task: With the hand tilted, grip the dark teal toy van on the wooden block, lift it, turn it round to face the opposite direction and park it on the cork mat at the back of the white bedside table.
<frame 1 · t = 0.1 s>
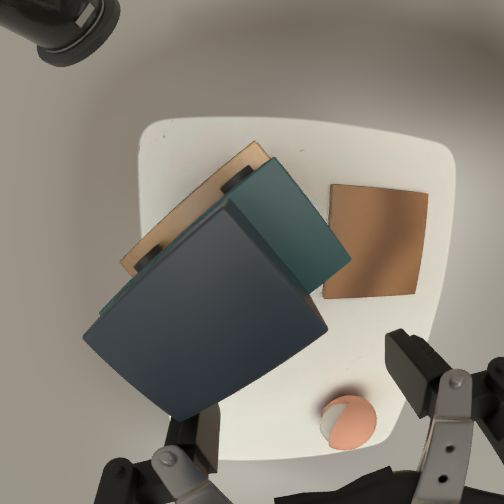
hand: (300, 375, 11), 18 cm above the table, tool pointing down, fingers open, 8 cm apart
toy van: (165, 302, 16), point 13 cm above the table, touching wooden block
toy ball: (339, 402, 35), on the table
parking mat: (420, 244, 29), on the table
wooden block: (231, 218, 28), on the table
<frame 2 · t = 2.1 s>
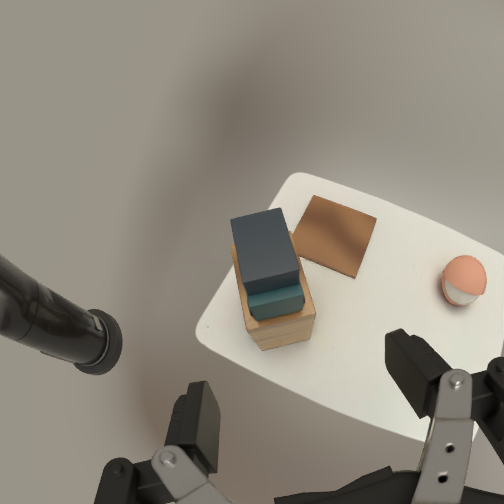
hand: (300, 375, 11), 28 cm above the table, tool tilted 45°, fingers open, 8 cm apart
toy van: (280, 318, 27), point 13 cm above the table, touching wooden block
toy ball: (452, 290, 38), on the table
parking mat: (344, 208, 48), on the table
wooden block: (278, 312, 41), on the table
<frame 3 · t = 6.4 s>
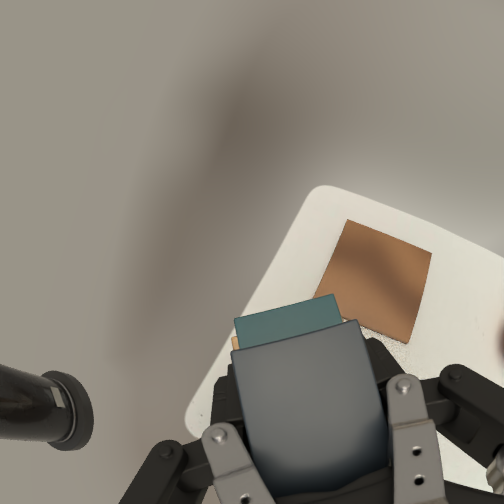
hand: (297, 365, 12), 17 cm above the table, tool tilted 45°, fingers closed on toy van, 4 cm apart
toy van: (320, 468, 12), point 13 cm above the table, touching wooden block, gripper
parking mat: (389, 238, 33), on the table
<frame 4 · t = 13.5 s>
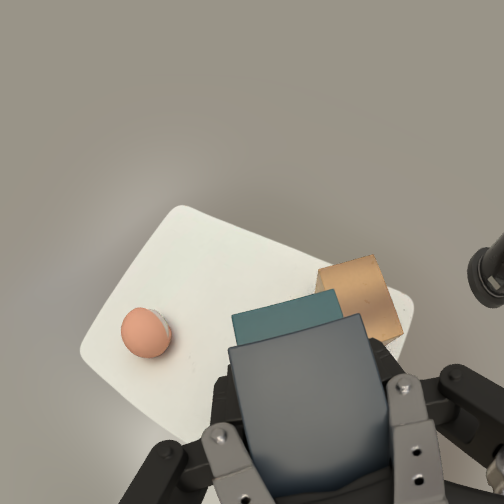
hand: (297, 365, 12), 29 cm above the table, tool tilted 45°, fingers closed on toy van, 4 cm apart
toy van: (321, 469, 12), point 25 cm above the table, touching gripper
toy ball: (157, 338, 44), on the table
wooden block: (343, 329, 40), on the table
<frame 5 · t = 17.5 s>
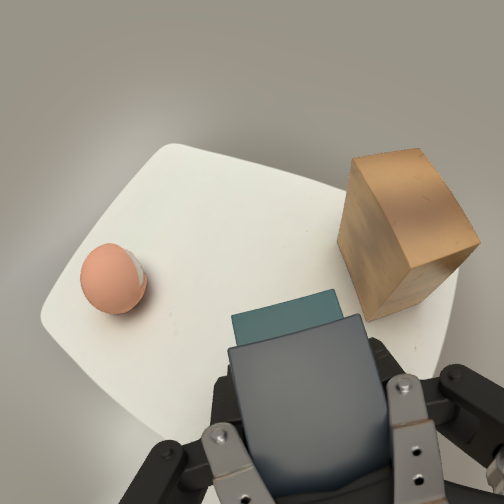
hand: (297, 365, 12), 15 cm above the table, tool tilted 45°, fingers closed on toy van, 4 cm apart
toy van: (321, 469, 12), point 12 cm above the table, touching gripper
toy ball: (130, 292, 33), on the table
wooden block: (379, 271, 29), on the table
when the fingers open (4 cm above the table, at t = 21.0 s): toy van stays where it is, resting on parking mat.
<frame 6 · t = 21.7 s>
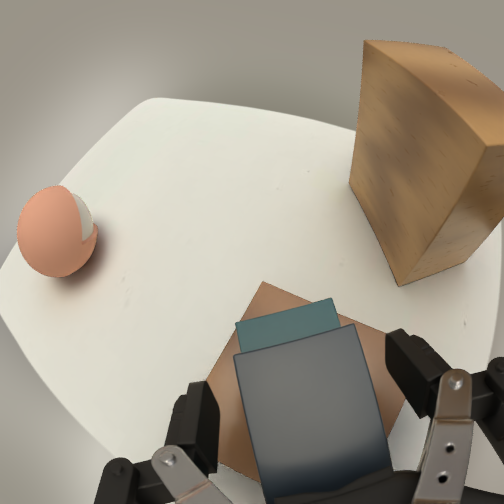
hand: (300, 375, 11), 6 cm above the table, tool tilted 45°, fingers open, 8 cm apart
toy van: (320, 467, 13), point 1 cm above the table, touching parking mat
toy ball: (81, 254, 24), on the table
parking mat: (256, 478, 13), on the table
wooden block: (408, 219, 20), on the table
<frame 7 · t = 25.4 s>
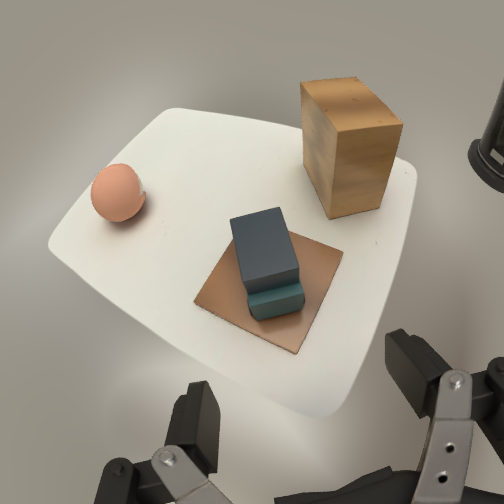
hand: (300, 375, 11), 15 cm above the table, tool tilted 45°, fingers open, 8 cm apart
toy van: (280, 317, 27), point 1 cm above the table, touching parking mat
toy ball: (131, 210, 39), on the table
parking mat: (242, 328, 28), on the table
wooden block: (340, 184, 35), on the table
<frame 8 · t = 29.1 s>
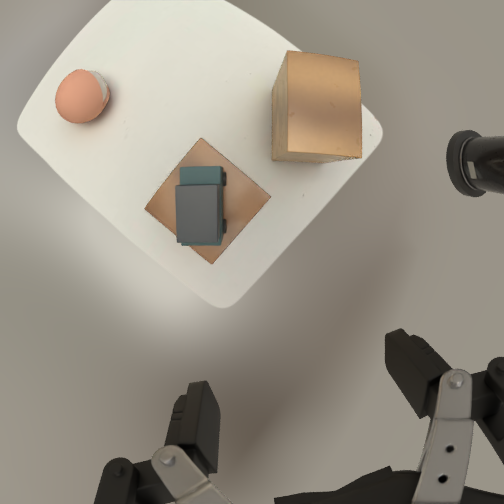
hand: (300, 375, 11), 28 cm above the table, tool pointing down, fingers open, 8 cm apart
toy van: (206, 236, 37), point 1 cm above the table, touching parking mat
toy ball: (95, 102, 32), on the table
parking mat: (178, 235, 38), on the table
wooden block: (298, 125, 35), on the table
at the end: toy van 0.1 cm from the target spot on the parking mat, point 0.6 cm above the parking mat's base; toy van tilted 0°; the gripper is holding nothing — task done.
